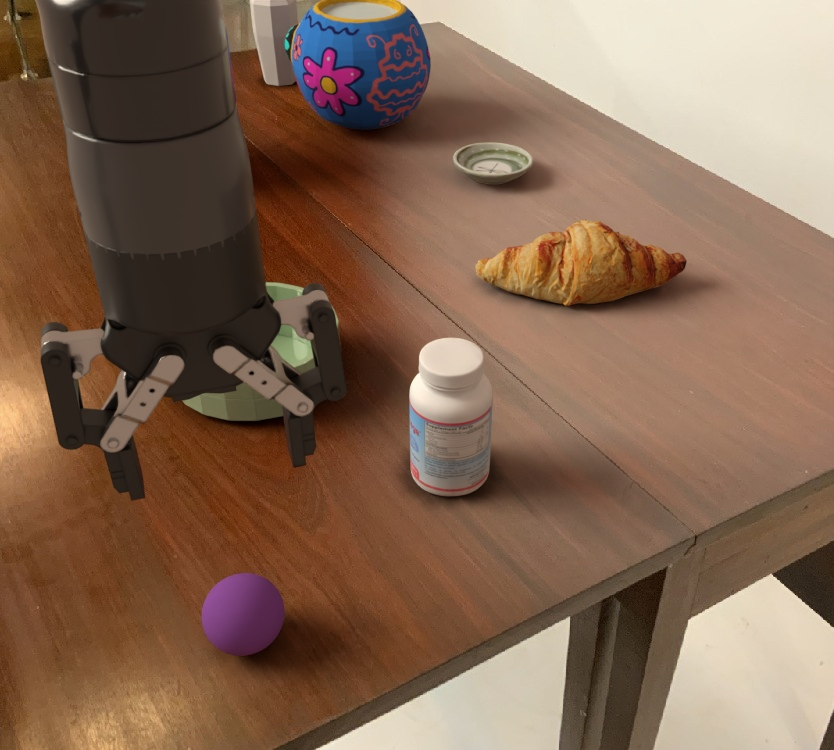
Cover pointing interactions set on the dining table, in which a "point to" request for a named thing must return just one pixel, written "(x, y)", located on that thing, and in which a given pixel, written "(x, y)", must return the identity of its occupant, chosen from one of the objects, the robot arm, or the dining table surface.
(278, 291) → the bowl
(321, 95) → the ceramic pot
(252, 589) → the ball
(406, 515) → the dining table surface
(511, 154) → the saucer
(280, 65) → the faceted bottle
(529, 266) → the croissant
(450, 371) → the pill bottle
